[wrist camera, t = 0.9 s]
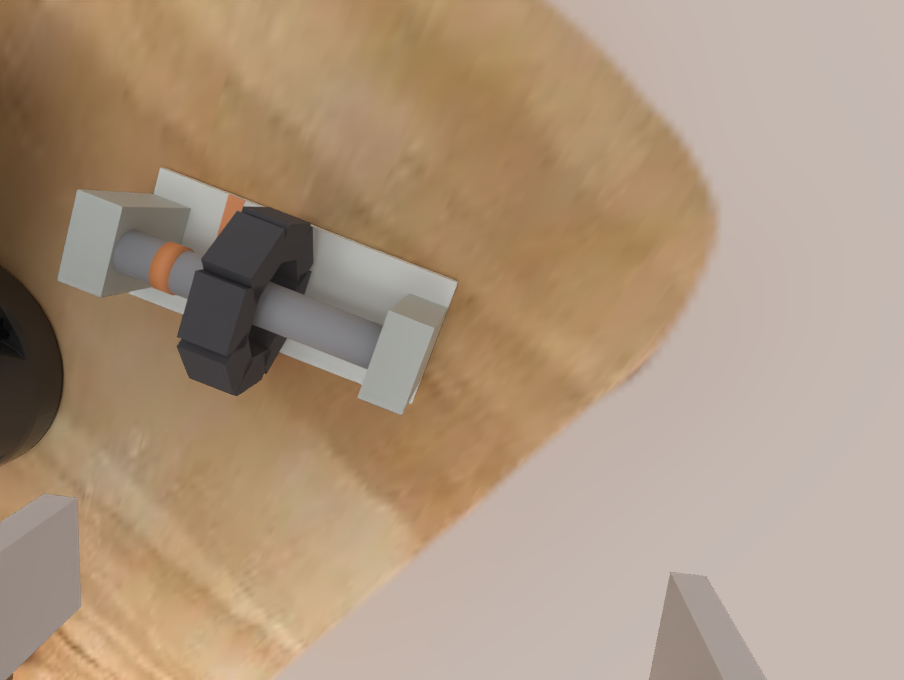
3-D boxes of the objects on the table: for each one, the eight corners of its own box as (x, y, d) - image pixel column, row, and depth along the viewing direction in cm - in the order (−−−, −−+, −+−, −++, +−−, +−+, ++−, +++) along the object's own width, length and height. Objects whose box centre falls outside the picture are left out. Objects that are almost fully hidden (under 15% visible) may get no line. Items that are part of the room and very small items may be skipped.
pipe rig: (136, 291, 39) (50, 309, 31) (167, 168, 37) (84, 157, 30) (413, 400, 38) (391, 443, 31) (458, 281, 37) (446, 297, 29)
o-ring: (244, 352, 37) (160, 396, 28) (288, 207, 35) (213, 205, 26) (281, 366, 37) (208, 414, 28) (327, 222, 35) (265, 225, 26)
